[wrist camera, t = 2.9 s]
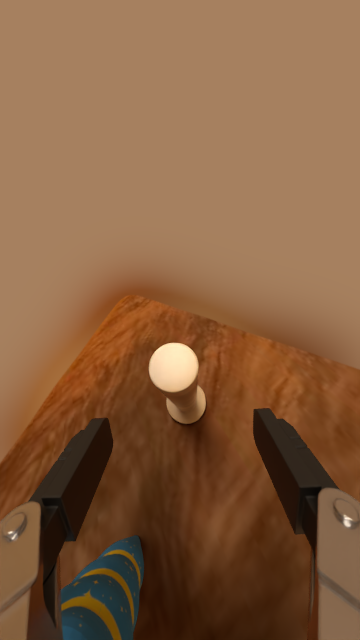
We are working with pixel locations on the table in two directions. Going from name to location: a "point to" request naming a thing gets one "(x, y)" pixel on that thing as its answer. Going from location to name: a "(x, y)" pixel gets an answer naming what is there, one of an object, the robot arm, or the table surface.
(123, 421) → the table surface
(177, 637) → the table surface
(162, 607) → the table surface
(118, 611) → the ornament
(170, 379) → the stick
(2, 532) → the robot arm
